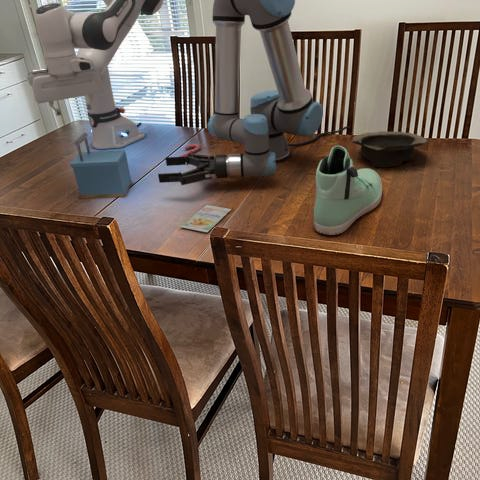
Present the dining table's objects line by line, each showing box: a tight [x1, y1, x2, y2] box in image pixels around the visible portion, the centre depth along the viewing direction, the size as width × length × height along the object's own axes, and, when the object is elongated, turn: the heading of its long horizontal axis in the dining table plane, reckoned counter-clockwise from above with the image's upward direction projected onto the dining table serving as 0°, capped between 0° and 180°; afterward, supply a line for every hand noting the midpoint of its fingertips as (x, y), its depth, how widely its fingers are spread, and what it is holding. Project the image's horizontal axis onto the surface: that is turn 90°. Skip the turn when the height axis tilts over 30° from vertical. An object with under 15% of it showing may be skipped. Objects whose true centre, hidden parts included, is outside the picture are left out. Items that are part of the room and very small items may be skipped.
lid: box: [69, 132, 127, 168], centre depth 154 cm, size 15×10×8 cm, turn 87°
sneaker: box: [313, 145, 383, 236], centre depth 133 cm, size 14×35×20 cm, turn 152°
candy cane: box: [178, 143, 201, 157], centre depth 185 cm, size 6×15×2 cm, turn 145°
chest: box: [72, 154, 133, 199], centre depth 159 cm, size 15×10×11 cm
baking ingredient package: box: [180, 204, 232, 233], centre depth 139 cm, size 9×1×15 cm
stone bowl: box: [351, 131, 429, 168], centre depth 166 cm, size 25×25×9 cm
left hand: (74, 112), depth 148 cm, fingers open, 8 cm apart
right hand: (162, 169), depth 155 cm, fingers open, 13 cm apart
